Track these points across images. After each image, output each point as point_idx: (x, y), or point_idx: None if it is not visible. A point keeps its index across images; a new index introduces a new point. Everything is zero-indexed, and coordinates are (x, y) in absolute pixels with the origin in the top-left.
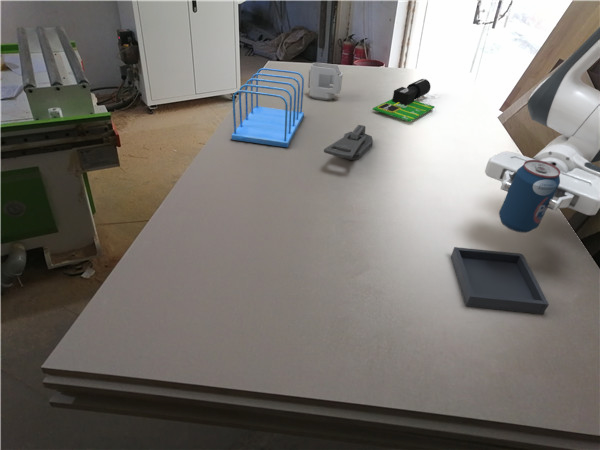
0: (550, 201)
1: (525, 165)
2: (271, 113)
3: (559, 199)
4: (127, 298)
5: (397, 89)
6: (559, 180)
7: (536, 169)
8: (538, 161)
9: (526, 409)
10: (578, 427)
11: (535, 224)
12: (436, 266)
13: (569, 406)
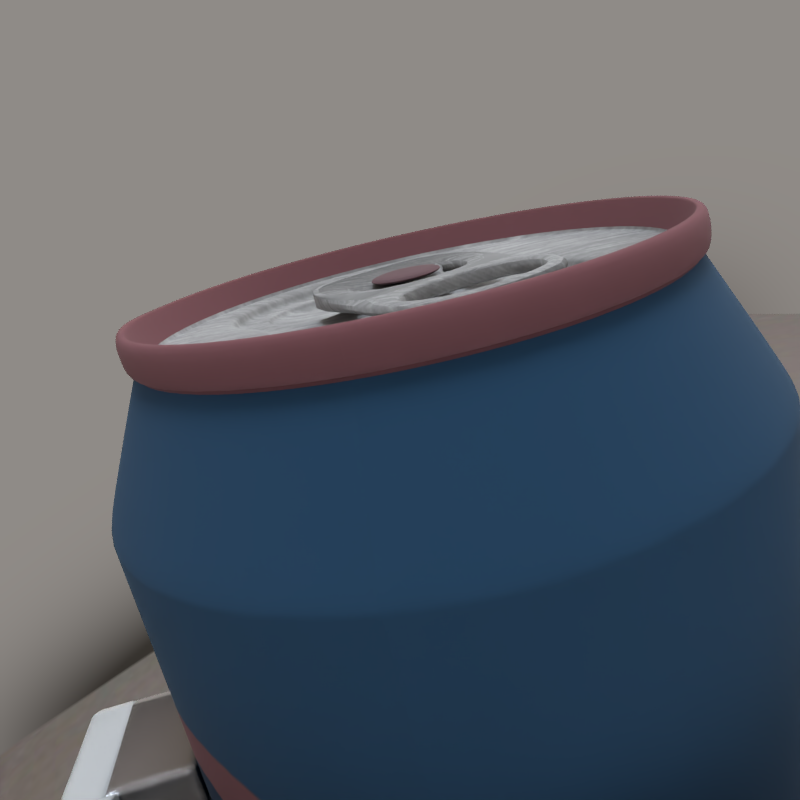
0: None
1: (603, 231)
2: None
3: (99, 764)
4: (766, 327)
5: None
6: (120, 465)
7: (439, 260)
8: (630, 266)
9: (137, 683)
10: (7, 750)
11: None
12: None
13: (26, 777)
